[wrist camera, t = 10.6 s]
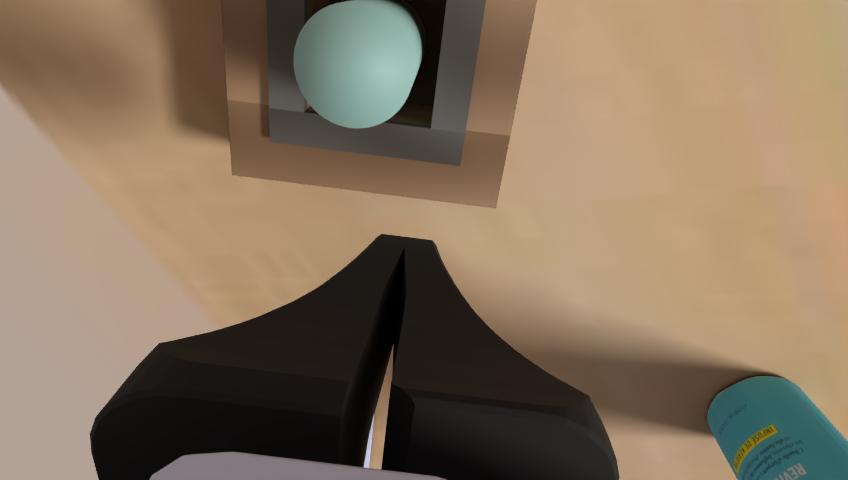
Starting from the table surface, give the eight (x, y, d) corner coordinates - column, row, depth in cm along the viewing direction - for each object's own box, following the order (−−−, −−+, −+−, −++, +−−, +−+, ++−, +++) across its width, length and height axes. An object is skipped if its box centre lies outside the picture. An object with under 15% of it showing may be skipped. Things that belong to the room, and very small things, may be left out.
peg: (418, 90, 20) (403, 138, 14) (339, 75, 20) (289, 116, 14) (433, 4, 19) (424, 15, 13) (349, -13, 19) (297, -11, 13)
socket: (489, 179, 22) (496, 212, 19) (260, 149, 22) (227, 178, 19) (541, -95, 17) (561, -113, 14) (251, -133, 17) (205, -160, 14)
